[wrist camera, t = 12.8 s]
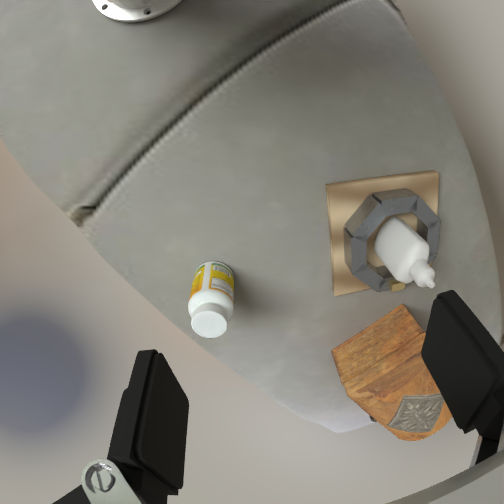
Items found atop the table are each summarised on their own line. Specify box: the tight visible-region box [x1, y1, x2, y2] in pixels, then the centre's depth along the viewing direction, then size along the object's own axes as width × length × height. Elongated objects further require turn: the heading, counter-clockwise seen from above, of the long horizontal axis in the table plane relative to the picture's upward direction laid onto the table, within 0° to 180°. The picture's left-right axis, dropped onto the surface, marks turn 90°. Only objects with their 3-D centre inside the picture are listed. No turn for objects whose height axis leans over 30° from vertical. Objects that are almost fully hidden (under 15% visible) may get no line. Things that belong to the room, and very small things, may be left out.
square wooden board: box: [326, 170, 439, 296], centre depth 39 cm, size 16×16×1 cm
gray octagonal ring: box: [343, 188, 440, 292], centre depth 37 cm, size 13×13×4 cm
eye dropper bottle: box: [374, 216, 435, 288], centre depth 33 cm, size 4×6×12 cm
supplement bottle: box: [188, 261, 234, 338], centre depth 37 cm, size 5×5×10 cm
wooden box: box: [332, 304, 452, 441], centre depth 48 cm, size 30×16×14 cm, turn 38°
